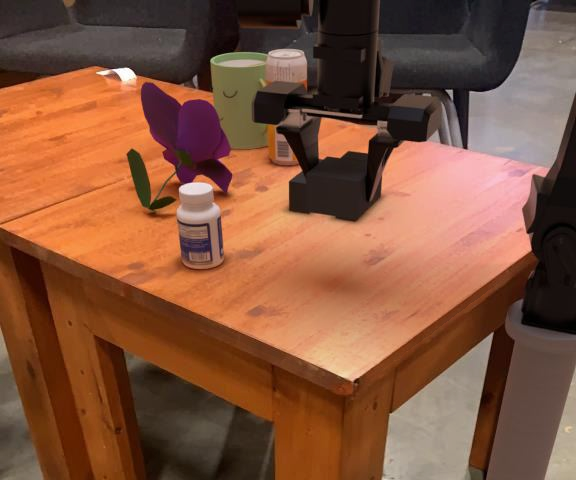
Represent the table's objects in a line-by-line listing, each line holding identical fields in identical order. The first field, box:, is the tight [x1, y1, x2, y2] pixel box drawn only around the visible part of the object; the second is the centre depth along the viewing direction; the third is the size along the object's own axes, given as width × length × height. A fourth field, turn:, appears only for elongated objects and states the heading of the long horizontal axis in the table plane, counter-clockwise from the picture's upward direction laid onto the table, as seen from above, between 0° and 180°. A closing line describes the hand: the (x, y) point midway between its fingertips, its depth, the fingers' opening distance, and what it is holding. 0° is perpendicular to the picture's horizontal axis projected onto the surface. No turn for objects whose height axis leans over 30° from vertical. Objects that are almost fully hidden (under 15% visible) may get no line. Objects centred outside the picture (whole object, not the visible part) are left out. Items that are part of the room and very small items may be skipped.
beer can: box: [266, 48, 308, 166], centre depth 117 cm, size 6×6×15 cm
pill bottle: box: [176, 181, 225, 270], centre depth 92 cm, size 5×5×9 cm
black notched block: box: [288, 158, 383, 222], centre depth 107 cm, size 10×10×4 cm
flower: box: [126, 81, 233, 213], centre depth 106 cm, size 15×15×14 cm
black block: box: [306, 150, 377, 221], centre depth 83 cm, size 6×9×4 cm
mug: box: [209, 51, 268, 150], centre depth 125 cm, size 13×10×12 cm
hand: (342, 196), depth 83 cm, fingers closed on black block, 6 cm apart
